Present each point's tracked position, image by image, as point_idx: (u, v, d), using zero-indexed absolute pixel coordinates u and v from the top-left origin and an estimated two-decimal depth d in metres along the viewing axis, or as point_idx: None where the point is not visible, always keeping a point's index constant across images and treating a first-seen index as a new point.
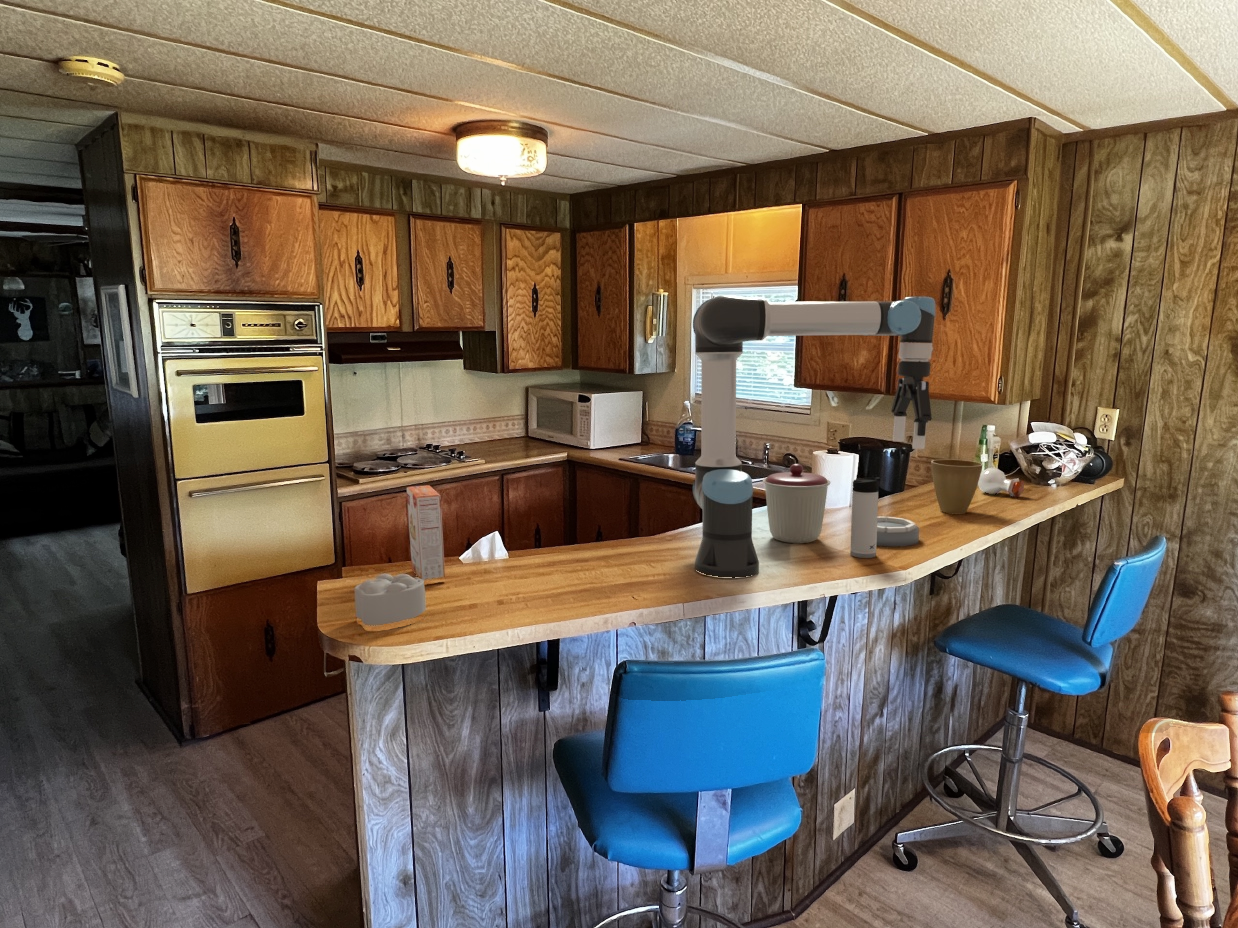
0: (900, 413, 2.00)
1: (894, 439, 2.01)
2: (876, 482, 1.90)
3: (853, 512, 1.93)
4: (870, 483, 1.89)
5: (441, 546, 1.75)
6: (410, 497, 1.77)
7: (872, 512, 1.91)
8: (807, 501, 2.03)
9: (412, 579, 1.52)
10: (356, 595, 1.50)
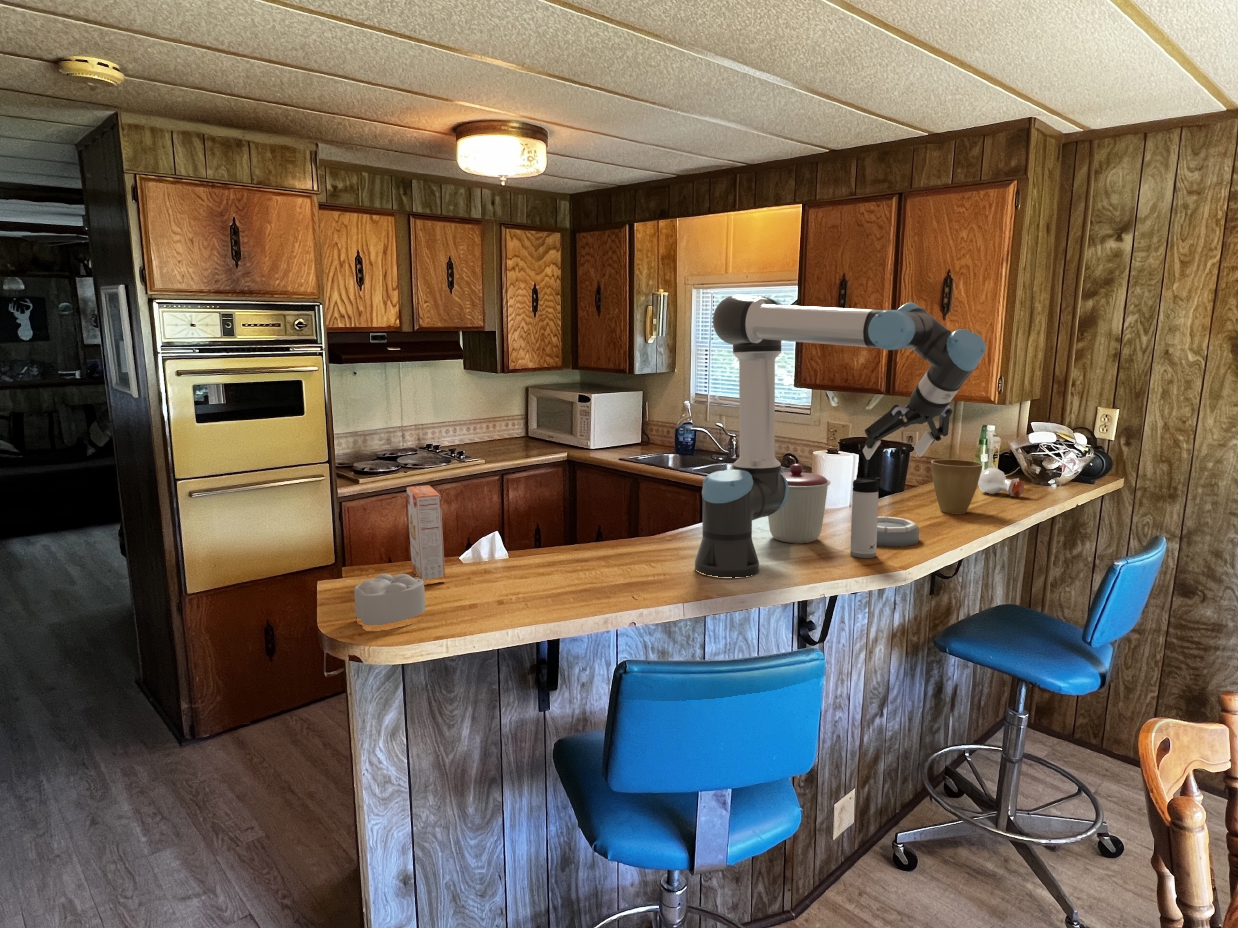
0: None
1: (915, 447, 1.83)
2: (876, 482, 1.90)
3: (853, 512, 1.93)
4: (870, 483, 1.89)
5: (441, 546, 1.75)
6: (410, 497, 1.78)
7: (872, 512, 1.91)
8: (807, 501, 2.03)
9: (412, 579, 1.52)
10: (355, 595, 1.50)
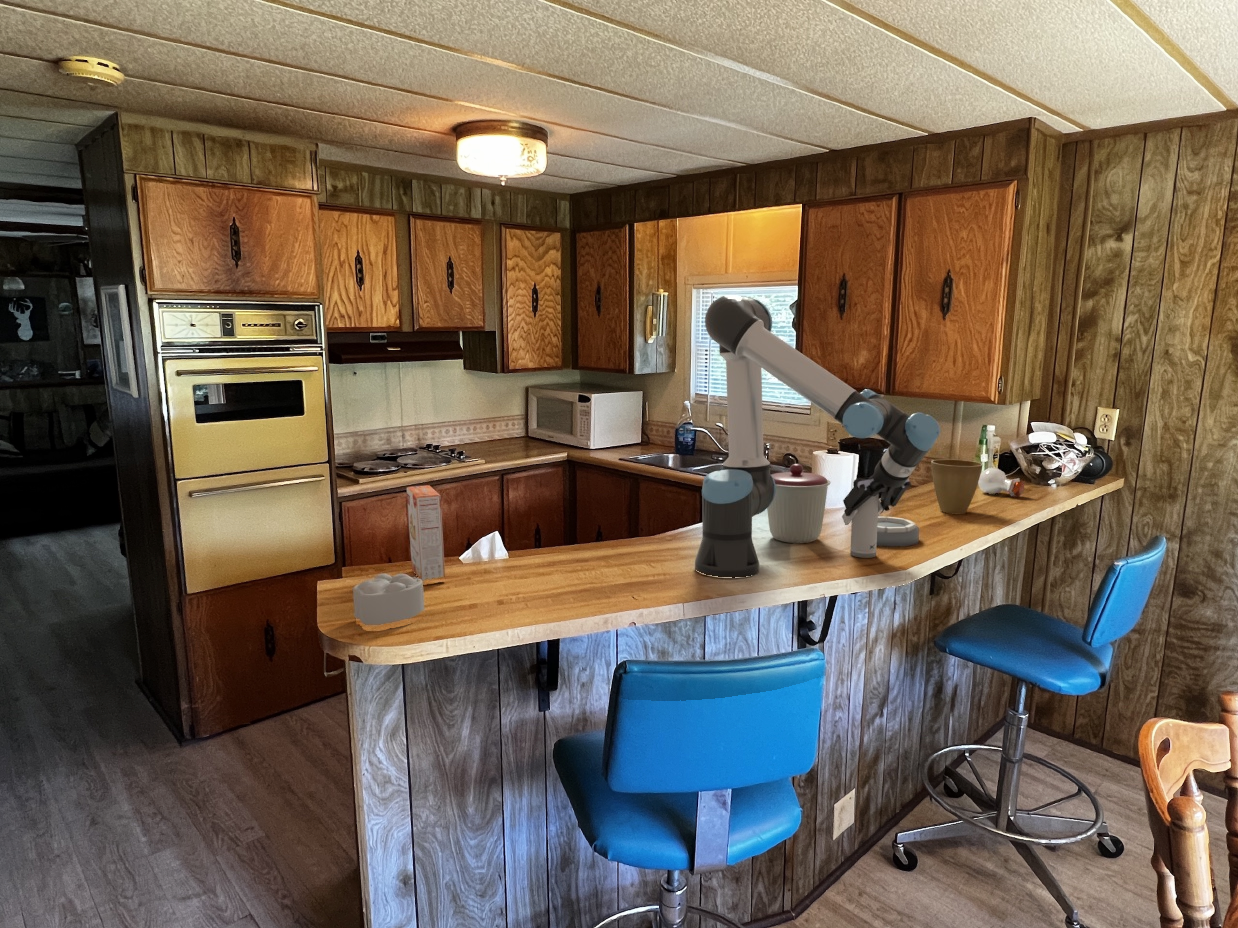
0: (883, 503, 1.92)
1: None
2: None
3: None
4: None
5: (441, 546, 1.75)
6: (410, 497, 1.77)
7: (873, 512, 1.91)
8: (807, 501, 2.03)
9: (411, 579, 1.52)
10: (354, 595, 1.50)
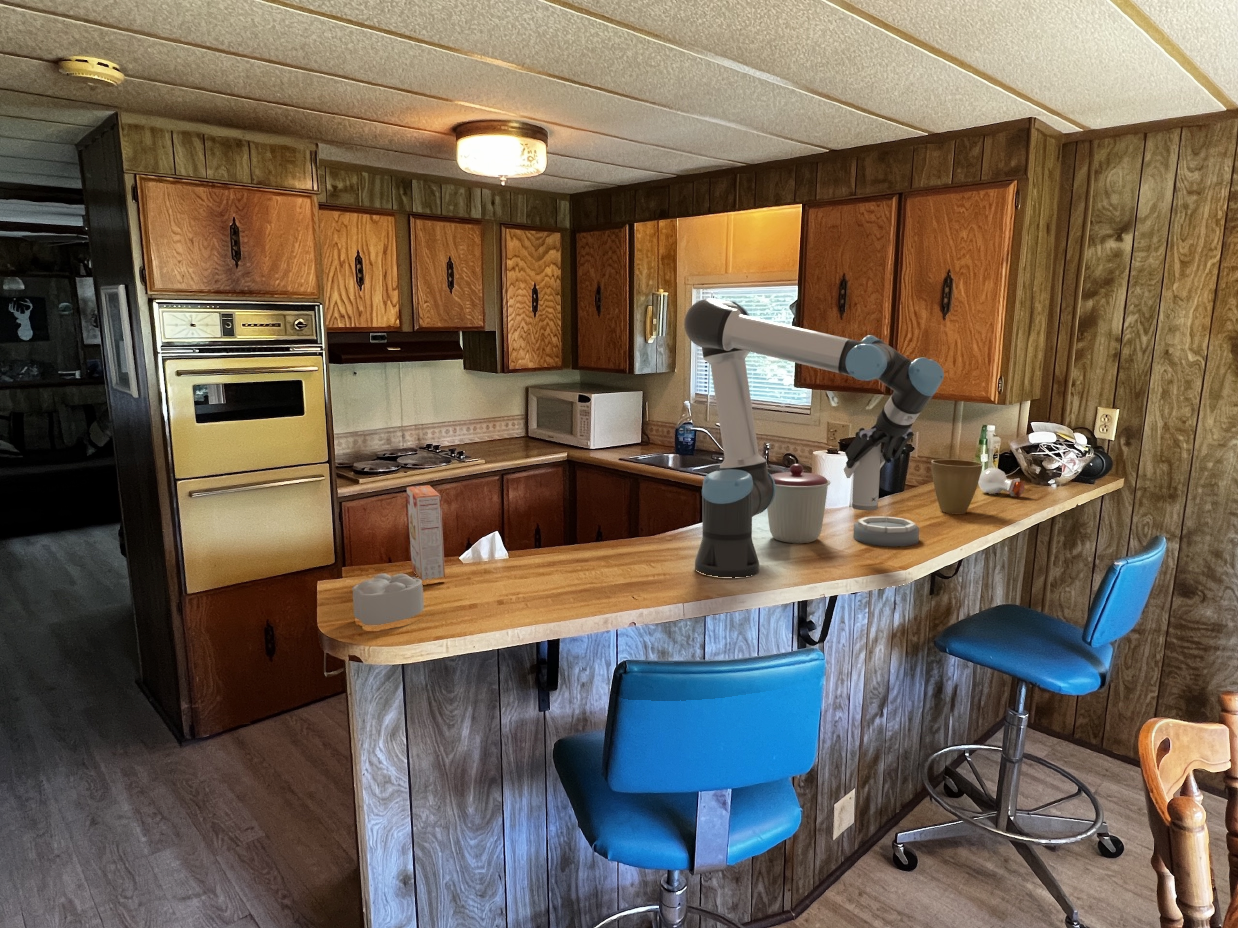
0: (885, 455, 1.90)
1: None
2: None
3: None
4: None
5: (441, 546, 1.75)
6: (410, 497, 1.78)
7: (875, 464, 1.89)
8: (807, 501, 2.03)
9: (410, 579, 1.52)
10: (354, 595, 1.50)
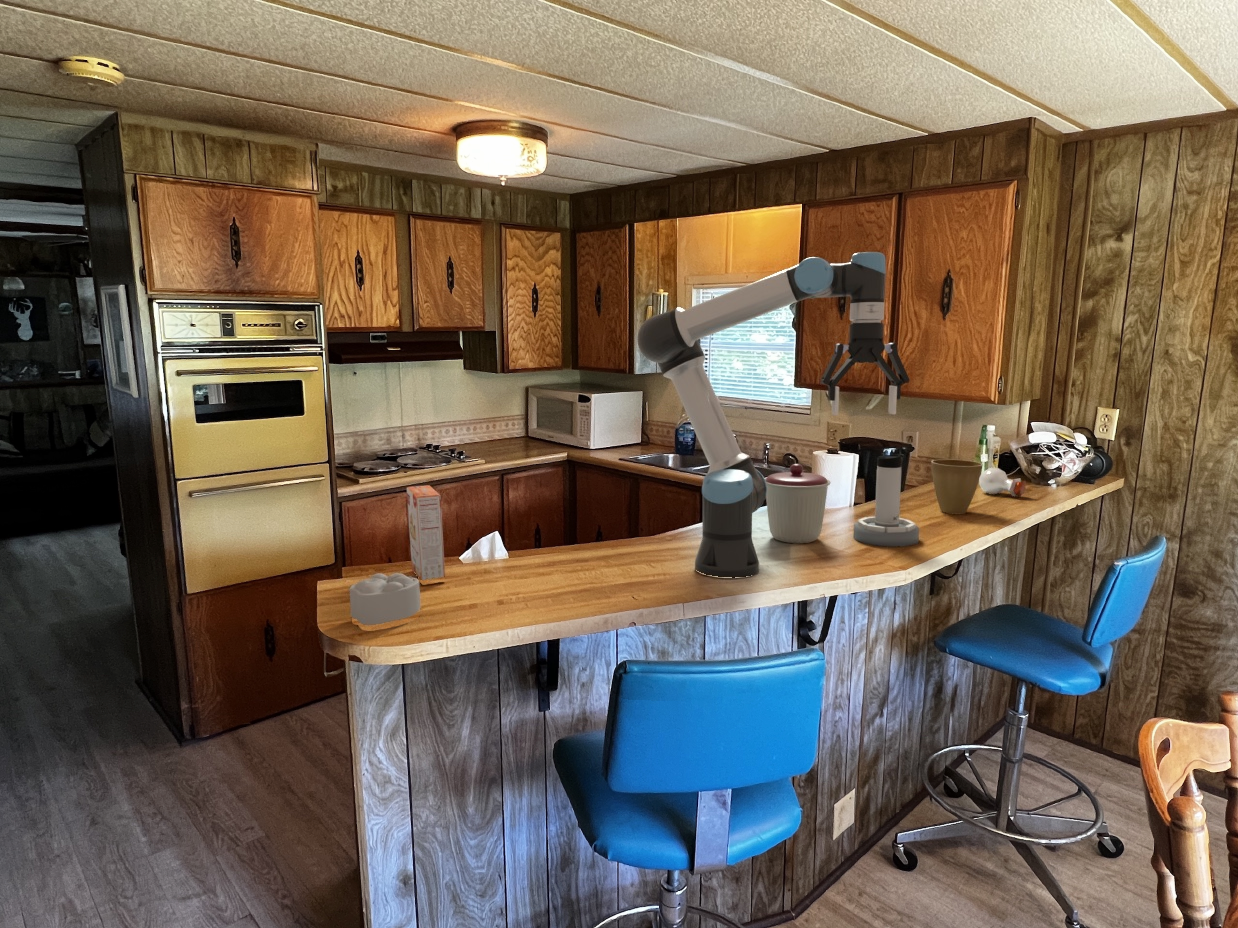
0: (895, 382, 1.79)
1: (888, 411, 1.81)
2: (899, 458, 2.06)
3: (878, 486, 2.09)
4: (894, 459, 2.05)
5: (441, 546, 1.75)
6: (410, 497, 1.78)
7: (896, 486, 2.06)
8: (807, 501, 2.03)
9: (407, 578, 1.52)
10: (351, 595, 1.50)
